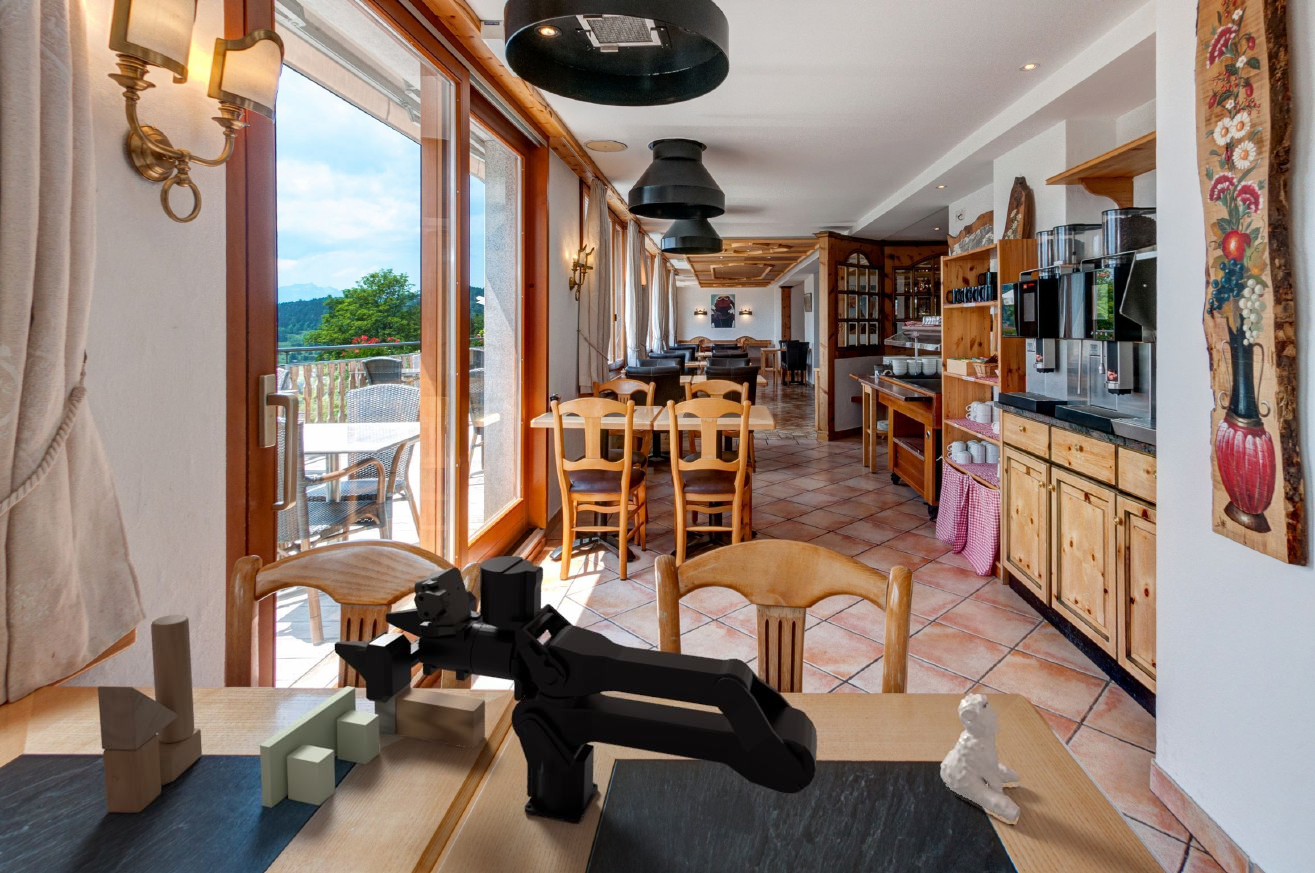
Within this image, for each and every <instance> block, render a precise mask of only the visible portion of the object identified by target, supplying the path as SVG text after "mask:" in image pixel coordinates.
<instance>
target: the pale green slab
mask: <svg viewBox="0 0 1315 873" xmlns="http://www.w3.org/2000/svg"><path fill="white" fill-rule="evenodd" d="M356 705H357V704H356V687H354V686H348V685H346V686H345V687H343V688H342V689H340V690H339V691H338V692H336V693H335V694H333V695H332V696H330V697H328V698H327V699H326V700H324V701H322V702H321V703H320V704H318V705H317V706H315V707H314V708H313V709H311V710H310V711H308V712H306V713H305V714H304V715H302V716H300V718H298V719H296V720H295V721H293V722H292V723H290V724H288V725H287V726H286V727H284V728H283V729H282V730H280V731H279V732H277V733H276V734H274V735H273V736H272V737H270V738H268V739H267V740H265V741H264V742H263V743H261V744H260V745H259V752H260V753H259V754H260V755H259V756H260V778H261V779H260V780H261V781H260V782H261V800H262V802H261V805H262V806H263V807H267V808H270V809H271V808H273V807H275V805H277V804H278V803H279V802H280V801H283V799H285V798H286V797H287V796H288V800H292V801H296V802H300V803H301V802H302V803H306V804H311V805H315V806H321V805H322V804H323V803H324V802H325V801H326V800H328V799H329V798H330V797H331V796H332V795H333V794H334V793H335V792H336V777H335V776H336V774H335V772H336V771H335V757H336V756H337V759H338V760H342V761H348V762H354V763H358V764H363V765H368V764H369V763H370V762H371V761H372V760H373V759H375V757H376V756H378V755H379V754H380V733H379V715H377V714H375V713H370V712H366V711H365V712H364V711H359V710H357V709H356Z"/></svg>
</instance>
